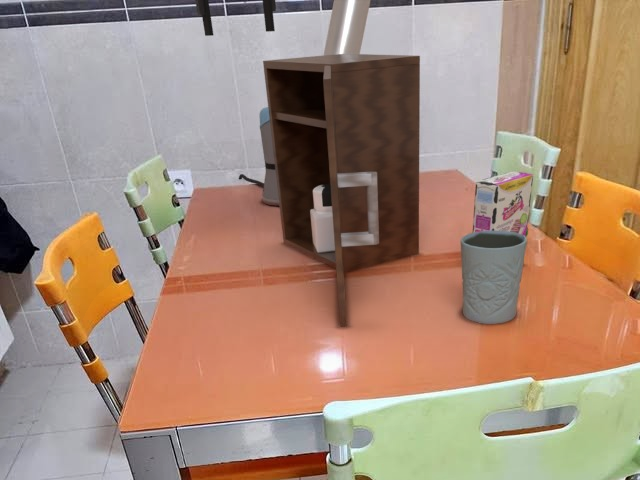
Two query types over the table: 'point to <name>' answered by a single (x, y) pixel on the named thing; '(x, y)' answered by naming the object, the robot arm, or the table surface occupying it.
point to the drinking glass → (491, 275)
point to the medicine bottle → (322, 219)
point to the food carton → (503, 203)
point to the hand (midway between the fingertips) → (240, 33)
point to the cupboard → (348, 148)
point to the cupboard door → (337, 182)
